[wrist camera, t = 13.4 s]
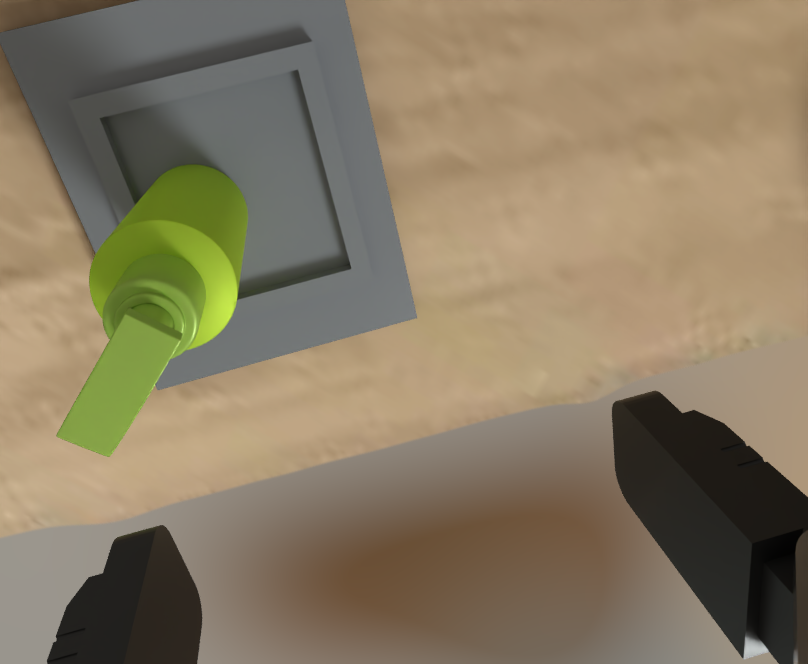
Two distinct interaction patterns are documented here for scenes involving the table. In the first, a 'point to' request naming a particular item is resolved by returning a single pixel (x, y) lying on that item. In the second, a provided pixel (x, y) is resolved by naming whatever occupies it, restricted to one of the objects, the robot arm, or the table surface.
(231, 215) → the soap dispenser
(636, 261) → the table surface
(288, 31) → the stand
